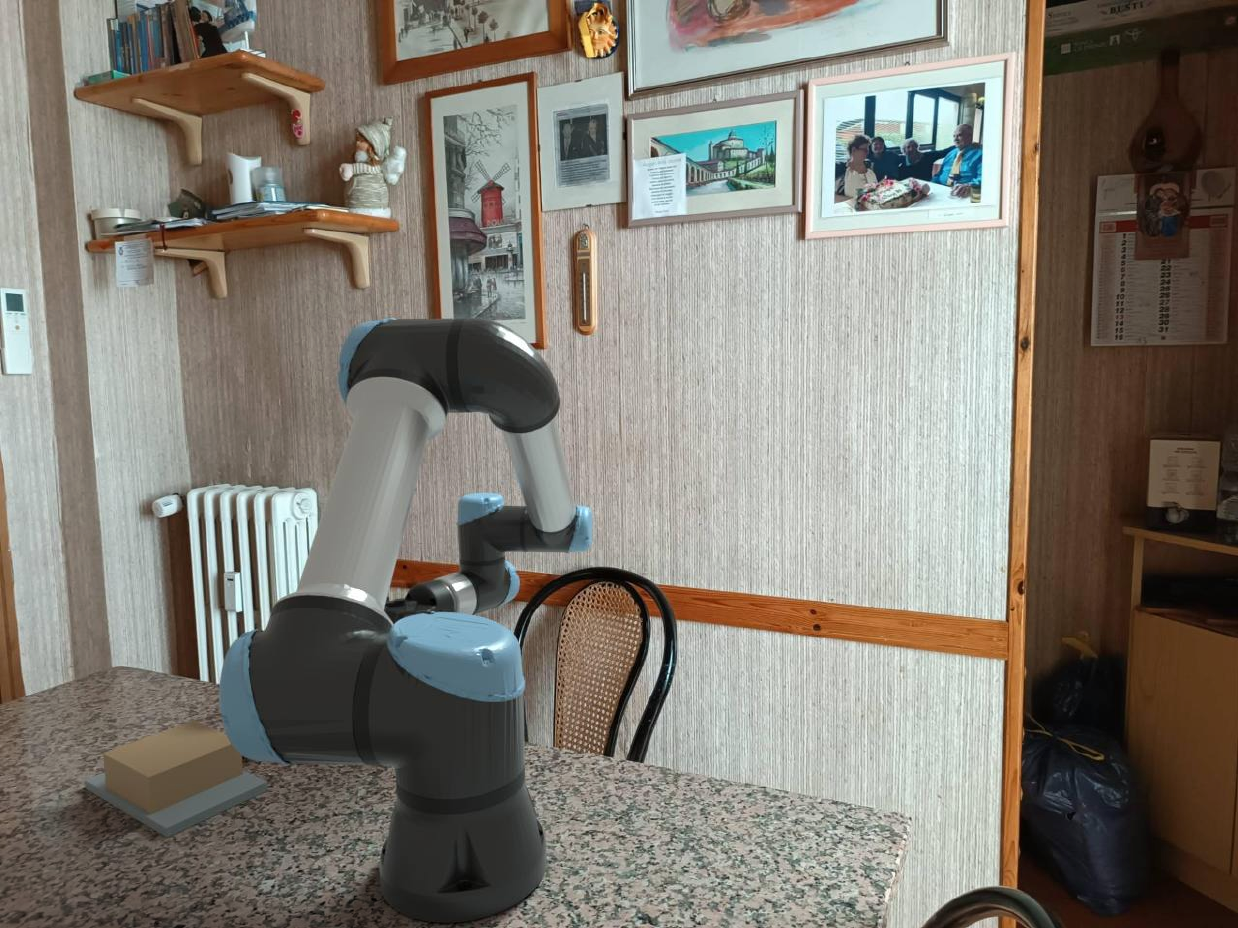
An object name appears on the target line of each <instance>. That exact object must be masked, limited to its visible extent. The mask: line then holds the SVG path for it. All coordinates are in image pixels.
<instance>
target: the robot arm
mask: <svg viewBox="0 0 1238 928" xmlns="http://www.w3.org/2000/svg"><path fill="white" fill-rule="evenodd" d="M338 365H339V367H340V368H339V371H338V372H337V383H338V384H337V385H338V389H339V393H340V396H341V399H342V401H343V403H344V404H345V406H346V407H347V408H346V409H347V411H348V414H349V415H350V417H351V419H352V420H353V421H352V425H351V428H350V430H349V434H348V437H347V439H346V443H345V446H344V449H343V451H342V455H341V457H340V459H339V463H338V465H337V469H336V471H335V472H336V473H335V475H334V478H333V481H332V484H331V487H330V489H329V493H328V496H327V499H326V502H325V505H324V507H323V510H322V514H321V517H320V520H319V523H318V526H317V528H316V531H315V534H314V537H313V541H312V543H311V546H310V549H309V552H308V555H307V559H306V560H305V564H304V567H303V570H302V573H301V576H300V579H299V581H298V585H297V588H296V591H294V592H291V593H289V594H287V595H285V596H282V597H281V598H279V599H278V600H277V601H276V602H275V603H274V605H273V607H272V611H271V613H270V616H269V619H268V621H267V623H266V624H267V625H266V626H265V628H264V630H263V629H260V628H256V629H252V630H250V631H246V632H243V633H242V634H241V635H240V636H239V637H238V638H235V640H234V641H233V642H232V644H231V645H230V646H229V649H228V651H227V653H226V655H225V657H224V660H223V664H222V668H221V672H220V678H219V685H218V686H219V690H218V701H219V704H218V705H219V713H220V716H221V721H222V726H223V730H224V733H225V734H226V735H227V737H228V739H229V741H230V743H231V744H232V746H233V747H234V748H235V749H236V751H237V752H239V753H240V754H241V755H242V757H244V758H246V759H249V760H250V761H257V762H268V763H279V764H280V765H282V766H294V765H295V764H302V765H303V764H306V765H310V764H312V765H337V766H341V765H342V766H377V767H378V766H380V767H392V768H394V775H395V789H396V790H395V791H396V795H395V796H396V798H395V802H394V807H393V809H392V814H391V818H390V821H389V826H388V827H389V828H388V832H387V833H388V834H387V835H388V836H387V838H386V840H385V841H384V843H383V845H382V848H381V852H380V855H379V860H378V861H379V866H378V867H379V868H378V869H379V884H380V885H379V886H380V890H381V893H382V896H383V898H384V899H385V901H386V902H387V904H388V905H389V906H391V907H392V908H393V909H394V910H395V911H397V912H399V913H400V914H402V915H404V916H406V917H409V918H413V919H415V920H419V921H422V922H423V921H425V922H429V923H440V924H444V923H445V924H446V923H448V924H449V923H461V922H463V923H464V922H469V921H474V920H479V919H484V918H486V917H490V916H493V915H496V914H498V913H501V912H502V911H505V910H507V909H509V908H512V907H513V906H515V905H516V904H518V903H520V902H521V901H523V899H525V898H526V897H528V896H529V895H530V894H531V893H532V892H533V891H534V890H535V889H536V888H537V887H538V885H539V884H540V883H541V881H542V879H543V878H544V876H545V872H546V868H547V864H548V863H547V862H548V861H547V840H546V835H545V831H544V829H543V827H542V824H541V823H540V821H539V820H538V817H537V812H536V809H535V806H534V802H533V800H532V799H533V798H532V797H531V794H530V791H529V789H528V785H527V783H526V782H527V781H526V755H525V754H526V751H525V750H526V749H525V707H524V706H525V705H524V704H525V702H524V700H525V699H524V691H525V688H526V681H525V675H523V666H522V654H521V653H522V652H521V646H520V643H519V641H518V638H517V637H516V635H515V634H514V633H513V632H512V631H511V630H510V629H509V628H507V627H506V626H504V625H503V624H501V623H499V622H497V621H495V620H492V619H490V618H487V617H483V616H480V615H479V614H482V613H484V612H487V611H490V610H495V609H497V608H499V607H501V606H504V605H505V604H507V603H508V602H510V601H512V600H513V599H515V598H516V596H517V594H518V593H519V590H520V584H521V583H520V576H519V575H518V573H517V569H516V567H515V566H514V565H513V564H512V563H511V562H510V561H508V560H506V553H565V554H569V553H583V552H587V551H589V550H590V549H591V546H592V543H593V534H594V533H593V531H594V525H593V523H594V521H593V519H594V518H593V512H592V510H591V508H589V507H588V506H585V505H582V506H581V505H578V504H576V502H575V497H574V493H573V488H572V483H571V479H570V475H569V470H568V466H567V460H566V457H565V451H564V447H563V442H562V437H561V434H560V430H559V424H558V420H557V416H558V414H559V412H560V410H561V398H560V392H559V387H558V383H557V381H556V379H555V377H554V374H553V372H552V370H551V368H550V367H549V365H548V363H547V362H546V361H545V360H544V358H543V357H542V355H541V354H540V353H539V352H538V350H537V349H536V348H534V347H533V346H532V345H531V343H530V342H529V341H527V340H526V339H525V338H524V337H523V336H521V335H520V334H519V333H517V332H516V331H514V330H513V329H512V328H510V327H508V326H507V325H504V324H502V323H500V322H497V321H495V320H492V319H488V318H483V317H482V318H481V317H466V318H394V317H393V318H392V317H390V318H389V317H388V318H383V319H380V320H370V321H365V322H362V323H360V324H358V325H357V326H355V327H354V328H353V329H352V330H351V331H350V332H349V334H348V335H347V336H346V338H345V340H344V342H343V344H342V346H341V350H340V353H339V358H338ZM459 413H460V414H461V413H469V414H471V413H483V414H487V415H488V417H489V419H490V422H491V423H492V425H494V427H495V428H497V429H498V430H500V432H501V433H502V436H503V439H504V441H505V445H506V448H507V451H508V455H509V457H510V461H511V463H512V467H513V470H514V473H515V475H516V480H517V482H518V486H519V489H520V493H521V494H522V498H523V501H524V504H525V505H505V501H504V497H503V495H501V494H500V493H496V492H493V493H492V492H478V493H477V492H475V493H469V494H464V496H462V497H460V498H459V499H458V501H457V522H456V526H457V542H458V559H459V560H458V561H459V562H458V563H459V571H456V572H452V573H448V574H444V575H442V576H439V577H436V578H434V579H430V580H427V581H424V582H421V583H418V584H414V585H412V587H411V588H410V589H409V590H408V592H407V594H406V595H405V597H403V598H395V599H393V600H390V597H389V596H388V595H389V591H390V587H391V585H392V579H393V575H394V572H395V569H396V565H397V564H396V563H397V560H398V555H399V553H400V549H401V545H402V540H403V536H404V533H405V528H406V525H407V521H408V517H409V513H410V509H411V505H412V502H413V498H414V494H415V489H416V487H417V482H418V478H419V475H420V474H419V473H420V470H421V466H422V462H423V459H424V455H425V451H426V446H427V444H428V441H430V440H432V439H434V438H437V436H439V435H440V434H441V432H442V431H443V429H444V428H445V425H446V420H447V416H448V414H459Z"/></svg>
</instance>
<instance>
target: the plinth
mask: <svg viewBox="0 0 1238 928" xmlns="http://www.w3.org/2000/svg"><path fill="white" fill-rule="evenodd" d="M102 756H103V768H104V772H102V773H100V774H96V775H94V776H91V777H89V778H86V779H84V788H85V790H88V791H89V792H91V793H93V794H94V795H95V796H97V797H99V798H101V799H102V800H104V801H105V802H107V803H109V804H111V805H112V806H113V807H115V808H117V809H118V810H120V811H122V812H123V813H125V814H127V815H129V816H130V817H132V818H134V819H135V820H137V821H139V822H140V823H142V824H143V825H146V826H147V827H149V828H150V829H152V830H153V831H156V833H158V834H160V835H162V836H163V837H165V838H170V837H171V836H174V835H176V834H177V833H178V834H179V833H180V832H182V831H184V830H186V829H188V828H190V827H191V828H192V827H193V826H196V825H198V824H200V823H201V822H204V821H206V820H208V819H210V818H212V817H214V816H216V815H218V814H221V813H223V812H225V811H228V810H229V809H231V808H233V807H235V806H238V805H240V804H242V803H244V802H246V801H248V800H251V799H252V798H255V797H257V796H260V795H261V794H263V793H265V792H268V791H269V785H268V781H267V780H265V779H262V778H261V777H259V776H256V775H254V774H252V773H250V772H248V771H246V770H243V767H244V766H243V756H242V755H241V754H240V753H239V752H237V751H236V749H235V748H234V747H233V746H232V744H231V743H230V741H229V739H228V737H227V735H226V733H225V732H222V731H220V730H218V729H215V728H213V727H210V726H208V725H205V724H203V723H202V722H199V721H197V720H195V719H193V720H191V721H188V722H186V723H183V724H179V725H177V726H174V727H172V728H169V729H166V730H163V731H161V732H158V733H154V734H151V735H149V736H147V737H144V738H141V739H138V740H135V741H133V742H129V743H127V744H125V745H122V746H119V747H117V748H116V747H115V748H114V749H111V750H107V751H106V752H103V753H102Z"/></svg>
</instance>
